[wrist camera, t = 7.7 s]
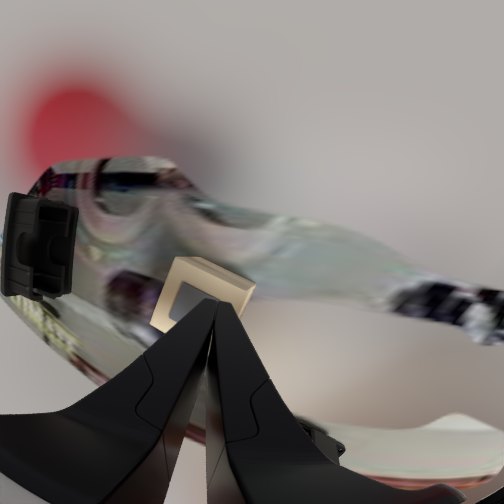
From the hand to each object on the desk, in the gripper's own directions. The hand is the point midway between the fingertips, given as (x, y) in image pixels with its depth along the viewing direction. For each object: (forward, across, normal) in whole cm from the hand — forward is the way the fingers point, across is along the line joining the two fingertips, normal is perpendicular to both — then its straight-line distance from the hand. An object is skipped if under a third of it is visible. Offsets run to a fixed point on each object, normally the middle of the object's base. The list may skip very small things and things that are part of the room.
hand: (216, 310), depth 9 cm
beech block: (+11, 0, +8) cm, 14 cm away
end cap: (+16, +19, +10) cm, 26 cm away
